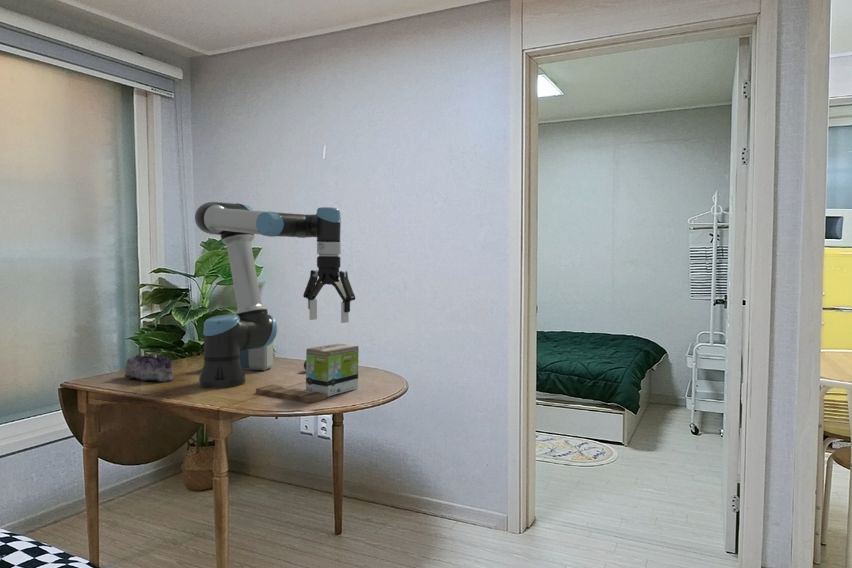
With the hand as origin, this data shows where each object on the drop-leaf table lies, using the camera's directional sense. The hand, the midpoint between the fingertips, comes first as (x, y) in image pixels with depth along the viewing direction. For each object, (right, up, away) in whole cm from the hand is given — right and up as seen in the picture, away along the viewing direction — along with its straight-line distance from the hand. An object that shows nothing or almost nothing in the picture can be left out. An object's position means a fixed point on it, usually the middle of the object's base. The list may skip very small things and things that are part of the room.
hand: (328, 321), depth 193 cm
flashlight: (-9, -22, +39) cm, 46 cm away
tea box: (+1, -23, +1) cm, 23 cm away
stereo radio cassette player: (-39, -21, +40) cm, 60 cm away
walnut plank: (-11, -23, -5) cm, 26 cm away
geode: (-67, -22, +21) cm, 74 cm away
